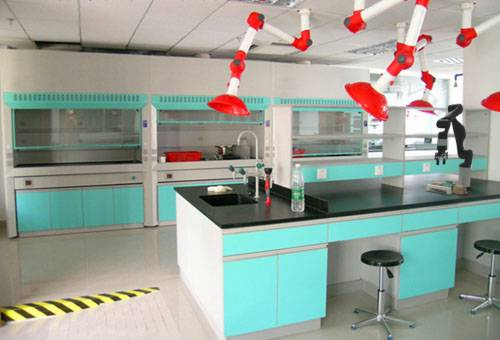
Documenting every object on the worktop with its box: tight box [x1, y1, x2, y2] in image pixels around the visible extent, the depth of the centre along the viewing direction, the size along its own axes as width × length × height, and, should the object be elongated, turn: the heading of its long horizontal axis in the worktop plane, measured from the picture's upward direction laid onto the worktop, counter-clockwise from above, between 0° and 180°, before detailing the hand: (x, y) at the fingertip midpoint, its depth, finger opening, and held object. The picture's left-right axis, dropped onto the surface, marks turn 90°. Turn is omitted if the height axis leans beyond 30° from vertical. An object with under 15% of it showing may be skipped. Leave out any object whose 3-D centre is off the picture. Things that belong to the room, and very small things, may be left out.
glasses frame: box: [425, 183, 452, 195], centre depth 346 cm, size 3×20×5 cm, turn 33°
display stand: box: [431, 179, 468, 195], centre depth 350 cm, size 8×27×9 cm, turn 33°
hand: (440, 164), depth 343 cm, fingers open, 8 cm apart
